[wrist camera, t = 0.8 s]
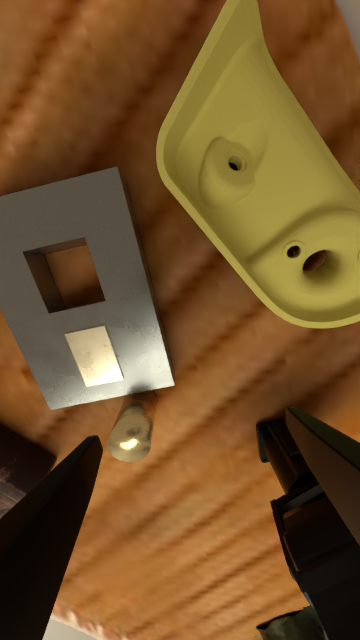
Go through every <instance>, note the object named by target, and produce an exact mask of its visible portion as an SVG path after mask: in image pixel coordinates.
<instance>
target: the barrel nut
mask: <svg viewBox="0 0 360 640" xmlns="http://www.w3.org/2000/svg"><path fill="white" fill-rule="evenodd" d="M156 406H157V397H156V395H155V393H154V392H153V391H152V390H148V391H143V392H138V393H133V394H128V395H126V397H125V400H124V402H123V404H122V407H121V409H120V412H119V414H118V417H117V419H116V421H115V424H114V426H113V429H112V431H111V433H110V436H109V438H108V441H107V448H108V451H109V452H110V454H111V455H112V456H113V457H115V458H116V459H118V460H121V461H125V462H135V461H138V460H141V459H143V458H144V457H145V456H146V455H147V454H148V453H149V450H150V445H151V438H152V432H153V425H154V419H155V413H156Z"/></svg>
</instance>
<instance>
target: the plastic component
mask: <svg viewBox="0 0 360 640" xmlns="http://www.w3.org/2000/svg"><path fill="white" fill-rule="evenodd" d="M156 162H157V167H158V171H159V174H160V177H161V179H162V181H163V183H164V184H165V186H166V187H167V188H168V189H169V190H170V192H171V193H172V194H173V195H174V197H175V198H176V199H177V200H178V201H179V203H180V204H181V205H182V206H183V207H184V209H185V210H186V211H187V212H188V214H189V215H190V216H191V217H192V218H193V220H194V221H195V222H196V223H197V224H198V226H199V227H200V228H201V229H202V231H203V232H204V233H205V234H206V235H207V237H208V238H209V239H210V240H211V241H212V243H213V244H214V245H215V246H216V248H217V249H218V250H219V251H220V252H221V254H222V255H223V256H224V257H225V258H226V260H227V261H228V262H229V263H230V264H231V266H232V267H233V268H234V269H235V271H236V272H237V273H238V274H239V275H240V277H241V278H242V279H243V280H244V281H245V283H246V284H247V285H248V286H249V287H250V289H251V290H252V291H253V292H254V293H255V294H256V295H257V297H258V298H259V299H260V300H261V301H262V302H263V303H264V304H265V305H266V306H267V307H268V308H269V309H270V310H271V311H272V312H274V313H275V314H276V315H278V316H279V317H281V318H282V319H284V320H286V321H288V322H290V323H292V324H295V325H298V326H303V327H308V328H334V327H339V326H345V325H348V324H352V323H355V322H358V321H360V192H359V190H358V189H357V188H356V186H355V185H354V184H353V182H352V181H351V180H350V178H349V177H348V176H347V174H346V173H345V172H344V170H343V169H342V167H341V166H340V165H339V163H338V162H337V160H336V159H335V157H334V156H333V154H332V153H331V151H330V150H329V148H328V147H327V145H326V144H325V142H324V141H323V139H322V138H321V136H320V135H319V133H318V132H317V130H316V129H315V127H314V126H313V124H312V122H311V121H310V119H309V118H308V116H307V115H306V113H305V112H304V110H303V109H302V107H301V106H300V104H299V103H298V101H297V100H296V98H295V97H294V95H293V94H292V92H291V91H290V89H289V87H288V86H287V84H286V83H285V81H284V80H283V78H282V77H281V75H280V73H279V72H278V70H277V68H276V66H275V64H274V63H273V61H272V58H271V56H270V54H269V52H268V49H267V47H266V44H265V41H264V35H263V30H262V24H261V19H260V14H259V8H258V3H257V0H226V2H225V4H224V6H223V8H222V10H221V12H220V14H219V16H218V18H217V20H216V22H215V24H214V25H213V27H212V29H211V31H210V33H209V35H208V37H207V39H206V41H205V43H204V45H203V47H202V49H201V50H200V52H199V54H198V56H197V58H196V60H195V62H194V64H193V66H192V68H191V70H190V72H189V74H188V76H187V77H186V79H185V81H184V83H183V85H182V87H181V89H180V91H179V93H178V95H177V97H176V99H175V101H174V103H173V104H172V106H171V108H170V110H169V112H168V114H167V116H166V118H165V120H164V122H163V124H162V126H161V129H160V132H159V135H158V139H157V146H156ZM229 162H230V163H234V164H235V165H236V166H237V168H238V171H234V170H233V169H231V168H230V166H229ZM295 245H296V246H299V250H298V251H296V250H295V251H294V252H293V254H294V255H295V256H294V257H289V256H287V250H288V249H289V248H290V247H291V246H295ZM320 250H326V254H327V256H326V259H325V262H324V263H323V264H322V265H321V266H320V267H318V268H317V269H315V270H311V271H303V269H302V268H303V265H304V262H305V261H306V259H307V258H308V257H309V256H310V255H312V254H313V253H315V252H317V251H320Z"/></svg>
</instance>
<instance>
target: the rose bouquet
mask: <svg viewBox="0 0 360 640" xmlns="http://www.w3.org/2000/svg"><path fill="white" fill-rule="evenodd" d="M257 630H258V631H259V632H260V633H261V635H260V637H262V638H263V640H329V639H328V637H327V635H326V632H325V630H324V628H323V625H322V623H321V621H320V619H319V617H318V614H317V612H316V610H315V609H314V608H313V607H312V606H308V607H304V610H302V611H300V612H299V613H298V614H296V615H295V616H287V617H282V618H279V619H276V620H274V621H272V622H270V623H269V625H268V627H267V628H266V629H263V630H261V629H257ZM256 637H258V636H256ZM254 638H255V637H254Z"/></svg>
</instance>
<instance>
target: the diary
mask: <svg viewBox="0 0 360 640" xmlns="http://www.w3.org/2000/svg"><path fill="white" fill-rule="evenodd" d="M55 462H56V459H55V458H54V457H52V456H50V455H49V454H47V453H45V452H43V451H42V450H40V449H38V448H37V447H35V446H33V445H31V444H30V443H28V442H26V441H24V440H22V439H21V438H19V437H17V436H15V435H13V434H12V433H10V432H9V431H7V430H6V429H4V428H3V427H1V426H0V518H2V517H3V516H4V515H5V514H6V513H7V512H8V511H9V510H10V509H11V508H12V507H13V506H14V505H15V504H17V503H18V502H19V501H20V500H21V499H22V498H23V497H24V496H25V495H26V494H27V493H28V492H29V491H30V490H32V489H33V488H34V487H35V486H36V485H37V484H38V483H39V482H40V481H41V480H42V479H43V478H44V477H45V476H46V475H48V474H49V473H50V471H51V470H52V468H53V466H54V464H55Z"/></svg>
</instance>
